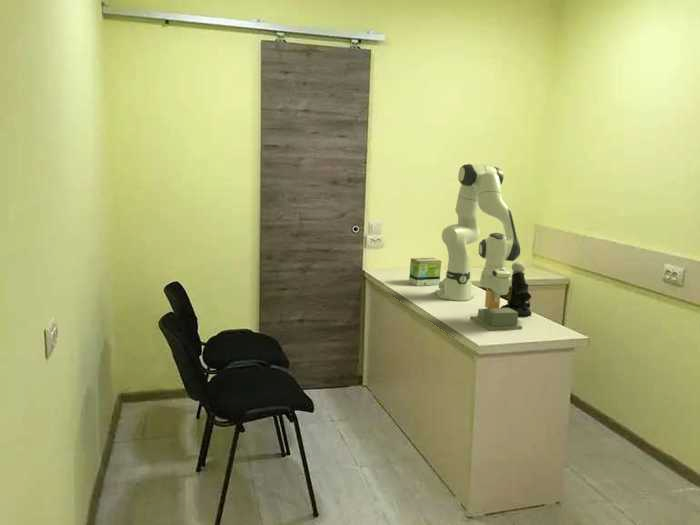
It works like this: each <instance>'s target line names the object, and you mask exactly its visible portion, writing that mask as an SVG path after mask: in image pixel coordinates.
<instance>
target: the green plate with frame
mask: <svg viewBox="0 0 700 525" xmlns="http://www.w3.org/2000/svg"><path fill="white" fill-rule="evenodd" d="M469 319H470V320H471V321H473V322H474V323H476V324H478V325H480V326H481V327H483V328H484V329H485V330H487V331H503V330H505V331H508V330H507V329H509V330H522V329H523V325H521V324H520V323H518V319H519V317H518V312H516V311H514V310H512V309H510V308H501V307H499V308H486V307H484V308H478V310H477V315H471V316H469Z"/></svg>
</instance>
